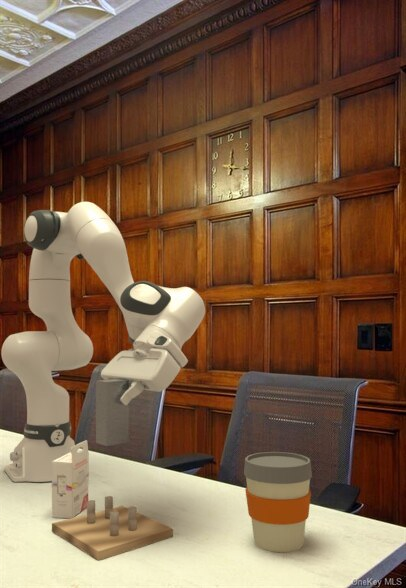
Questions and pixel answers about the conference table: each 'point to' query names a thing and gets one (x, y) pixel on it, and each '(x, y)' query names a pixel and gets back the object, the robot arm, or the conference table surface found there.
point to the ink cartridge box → (70, 482)
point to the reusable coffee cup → (278, 499)
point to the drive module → (111, 412)
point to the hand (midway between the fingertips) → (114, 401)
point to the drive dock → (102, 530)
